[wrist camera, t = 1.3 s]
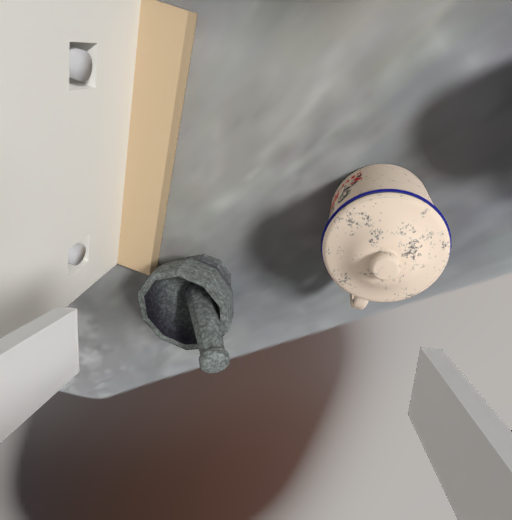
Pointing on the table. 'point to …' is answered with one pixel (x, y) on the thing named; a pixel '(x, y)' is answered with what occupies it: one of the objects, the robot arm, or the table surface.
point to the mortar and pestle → (191, 307)
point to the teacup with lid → (384, 236)
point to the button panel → (85, 143)
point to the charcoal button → (79, 64)
